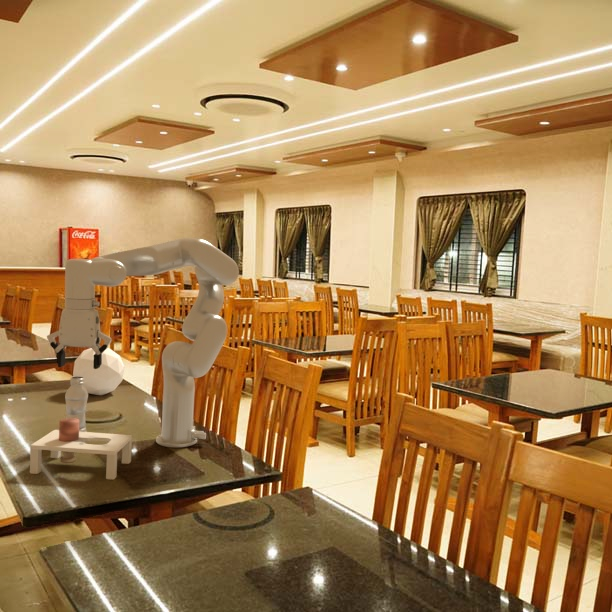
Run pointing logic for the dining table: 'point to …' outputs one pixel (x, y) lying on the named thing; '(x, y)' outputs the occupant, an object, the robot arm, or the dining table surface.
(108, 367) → the ball
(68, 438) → the peg
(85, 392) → the plastic bottle
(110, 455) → the keyhole plate
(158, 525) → the dining table surface
